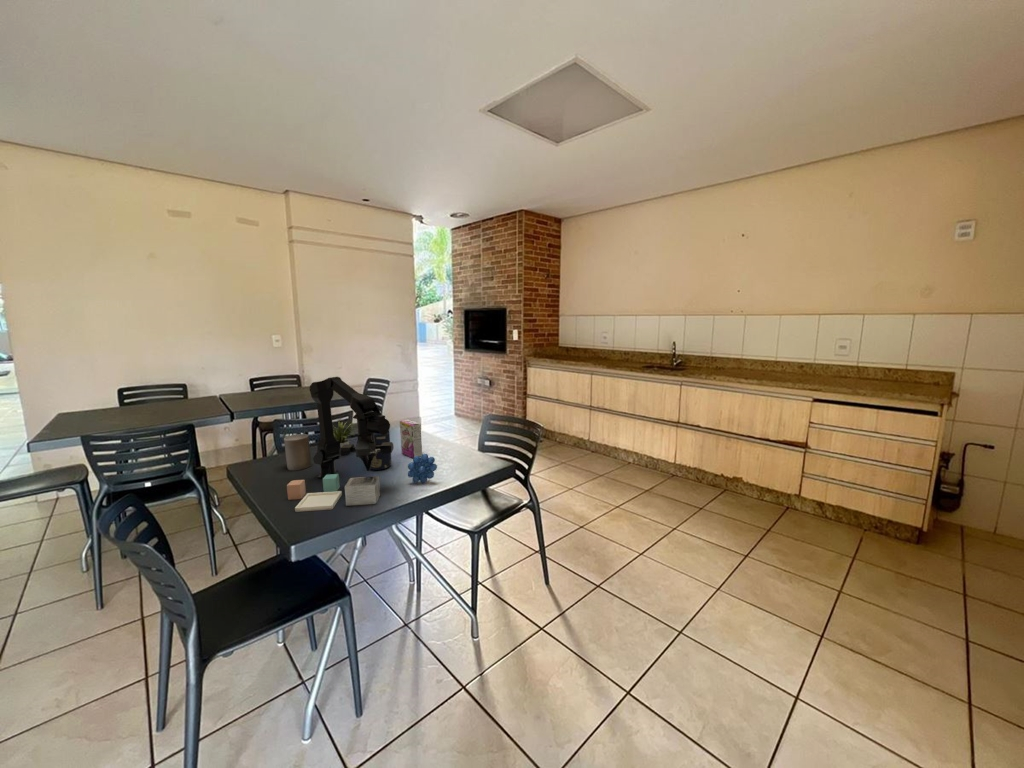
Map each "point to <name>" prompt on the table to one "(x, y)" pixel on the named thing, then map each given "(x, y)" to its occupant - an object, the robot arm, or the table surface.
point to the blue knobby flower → (422, 468)
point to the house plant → (342, 434)
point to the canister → (381, 459)
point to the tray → (318, 501)
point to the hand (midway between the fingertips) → (368, 470)
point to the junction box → (362, 491)
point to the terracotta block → (296, 489)
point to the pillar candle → (297, 451)
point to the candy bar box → (411, 438)
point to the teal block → (331, 483)
